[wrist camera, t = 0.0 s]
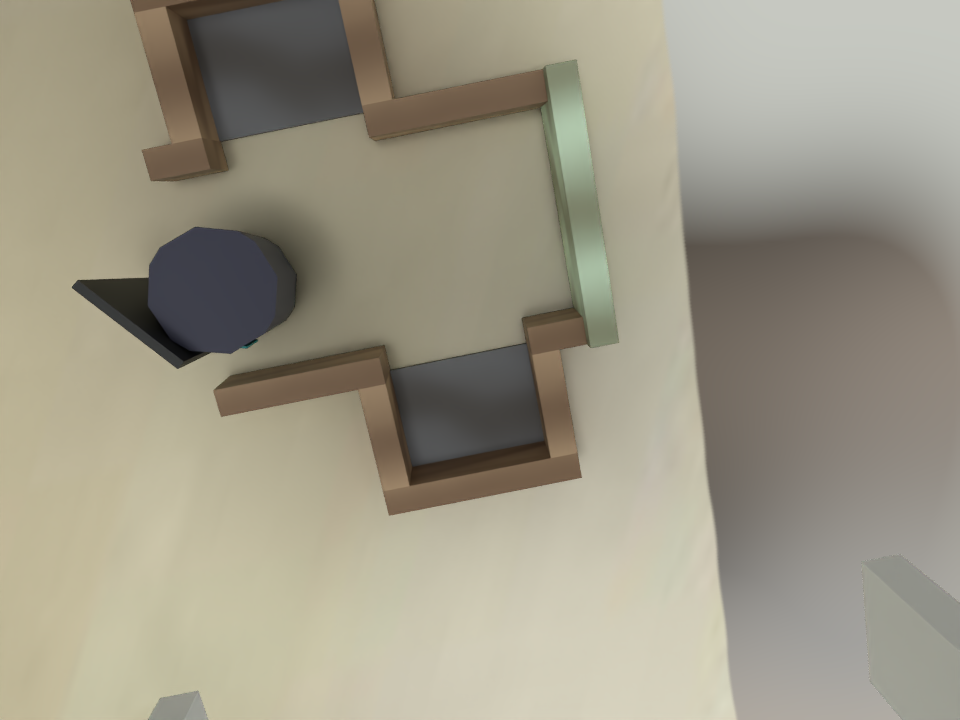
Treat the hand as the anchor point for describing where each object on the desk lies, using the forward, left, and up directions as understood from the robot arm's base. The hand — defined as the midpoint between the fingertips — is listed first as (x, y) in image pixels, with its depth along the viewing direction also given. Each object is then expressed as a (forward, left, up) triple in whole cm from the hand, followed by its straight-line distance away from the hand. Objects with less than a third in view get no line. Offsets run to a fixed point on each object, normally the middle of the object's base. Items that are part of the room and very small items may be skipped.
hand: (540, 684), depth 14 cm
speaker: (-7, -12, -28) cm, 32 cm away
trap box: (-7, -4, -28) cm, 29 cm away
